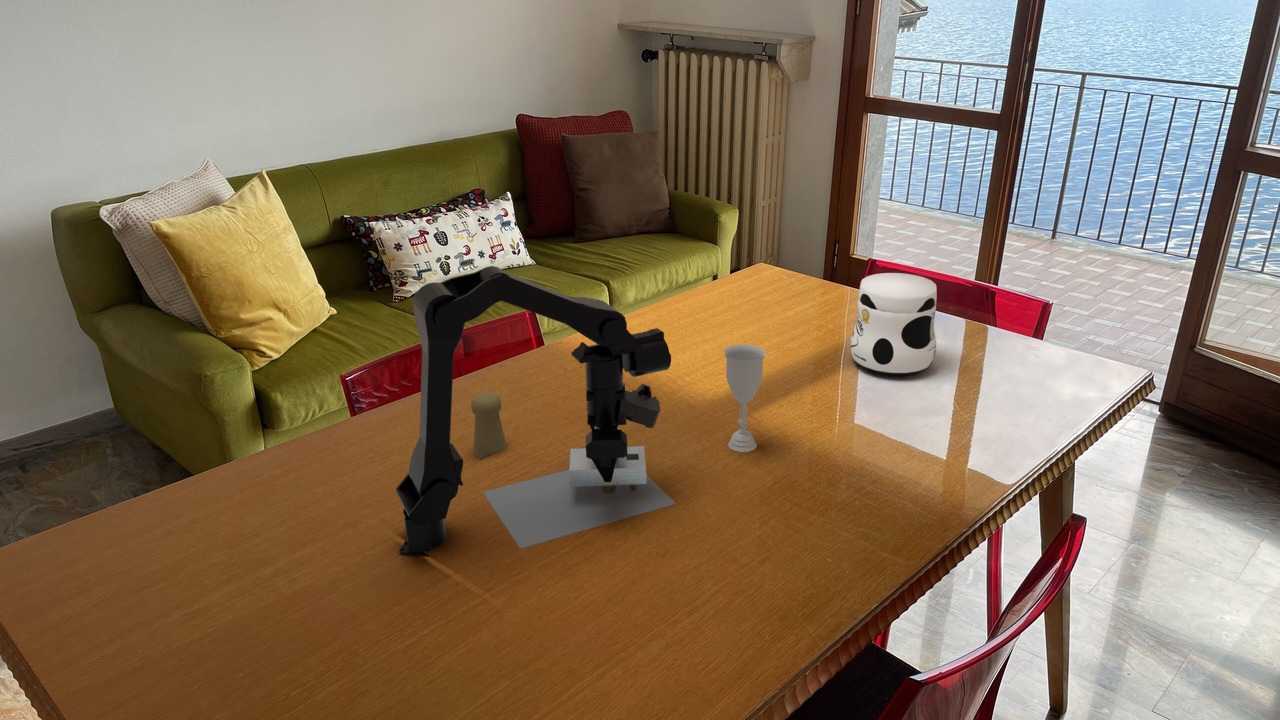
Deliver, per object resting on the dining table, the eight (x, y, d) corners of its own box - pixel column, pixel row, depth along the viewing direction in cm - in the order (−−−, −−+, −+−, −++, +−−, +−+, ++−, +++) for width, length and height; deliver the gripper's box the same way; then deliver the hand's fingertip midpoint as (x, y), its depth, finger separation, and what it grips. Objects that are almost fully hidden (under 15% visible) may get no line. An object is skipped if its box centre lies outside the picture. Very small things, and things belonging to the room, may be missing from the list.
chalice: (715, 449, 167) (717, 355, 160) (730, 432, 172) (732, 341, 165) (754, 457, 164) (757, 363, 156) (768, 441, 169) (772, 348, 162)
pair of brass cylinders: (602, 493, 152) (601, 473, 150) (602, 486, 154) (601, 466, 153) (636, 491, 152) (636, 472, 151) (636, 484, 154) (635, 465, 153)
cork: (501, 461, 164) (496, 404, 160) (468, 458, 165) (462, 402, 161) (512, 445, 170) (507, 389, 165) (480, 442, 171) (475, 387, 166)
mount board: (520, 554, 138) (520, 548, 138) (483, 497, 153) (482, 492, 153) (675, 509, 149) (675, 503, 149) (626, 459, 164) (626, 454, 163)
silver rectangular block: (570, 486, 148) (569, 470, 147) (571, 464, 155) (570, 448, 154) (646, 484, 149) (646, 467, 148) (644, 462, 155) (643, 446, 154)
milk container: (834, 355, 204) (839, 276, 197) (904, 345, 209) (912, 267, 202) (876, 387, 189) (883, 302, 182) (950, 375, 194) (960, 292, 187)
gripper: (660, 406, 137) (661, 498, 143) (653, 356, 154) (654, 440, 160) (583, 409, 137) (588, 501, 143) (585, 358, 154) (588, 443, 160)
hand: (607, 470), depth 151 cm, fingers closed on silver rectangular block, 7 cm apart
